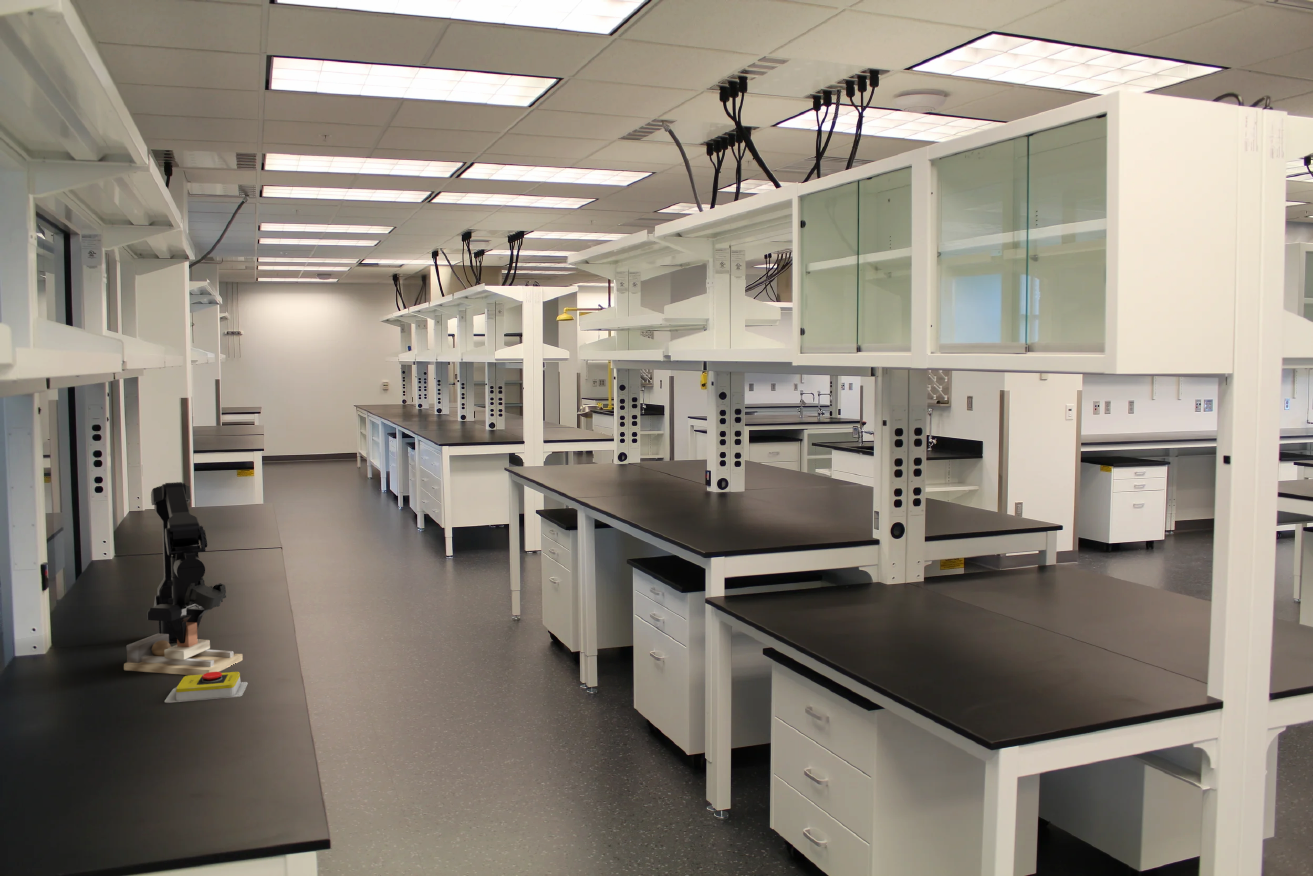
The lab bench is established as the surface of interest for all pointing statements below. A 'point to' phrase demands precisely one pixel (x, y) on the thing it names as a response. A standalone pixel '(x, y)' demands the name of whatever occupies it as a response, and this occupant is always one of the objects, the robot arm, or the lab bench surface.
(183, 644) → the slider
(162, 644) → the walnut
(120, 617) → the lab bench surface
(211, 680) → the emergency button
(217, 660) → the press bed
